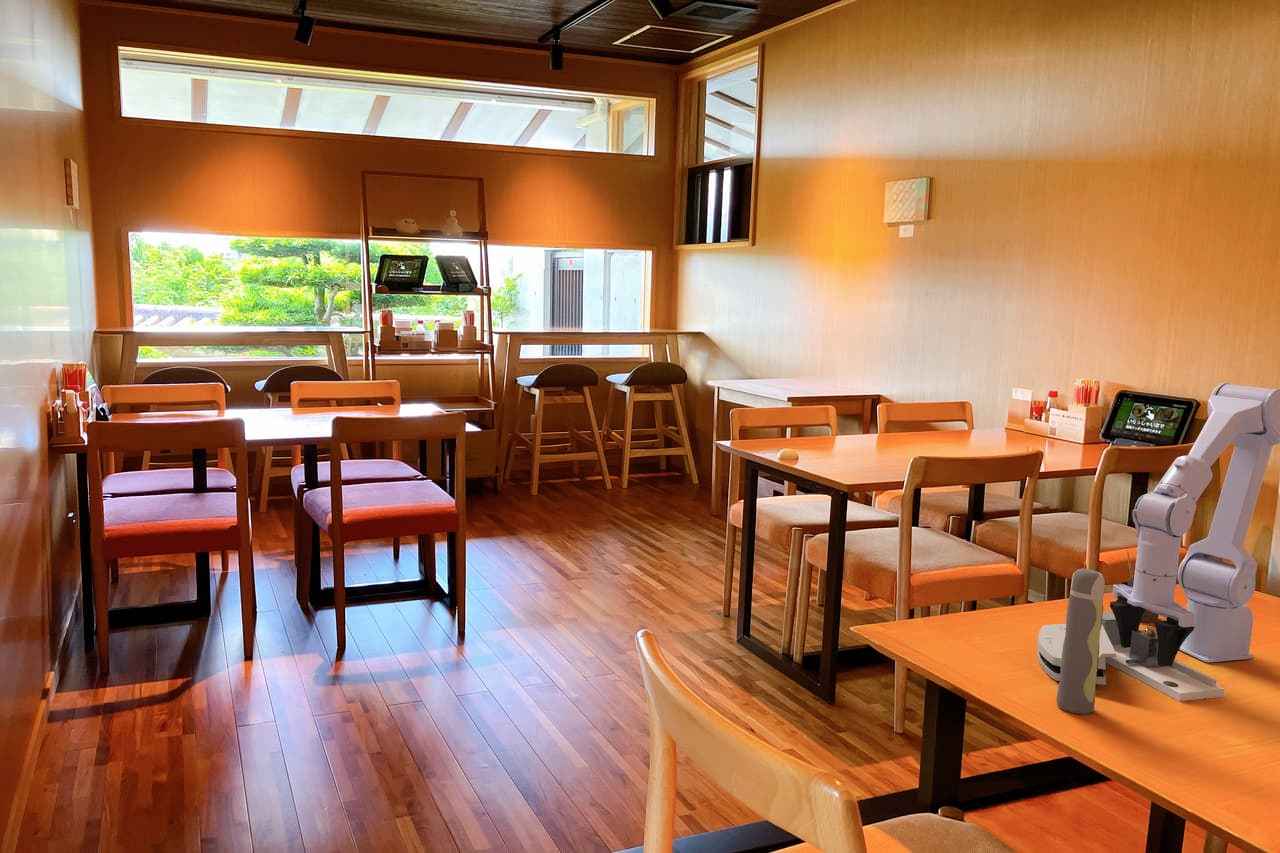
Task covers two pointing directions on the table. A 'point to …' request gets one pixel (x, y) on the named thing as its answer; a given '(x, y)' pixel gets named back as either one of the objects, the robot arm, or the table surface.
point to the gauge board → (1161, 671)
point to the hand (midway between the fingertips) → (1146, 655)
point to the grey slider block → (1144, 647)
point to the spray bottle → (1081, 642)
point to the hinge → (1053, 645)
